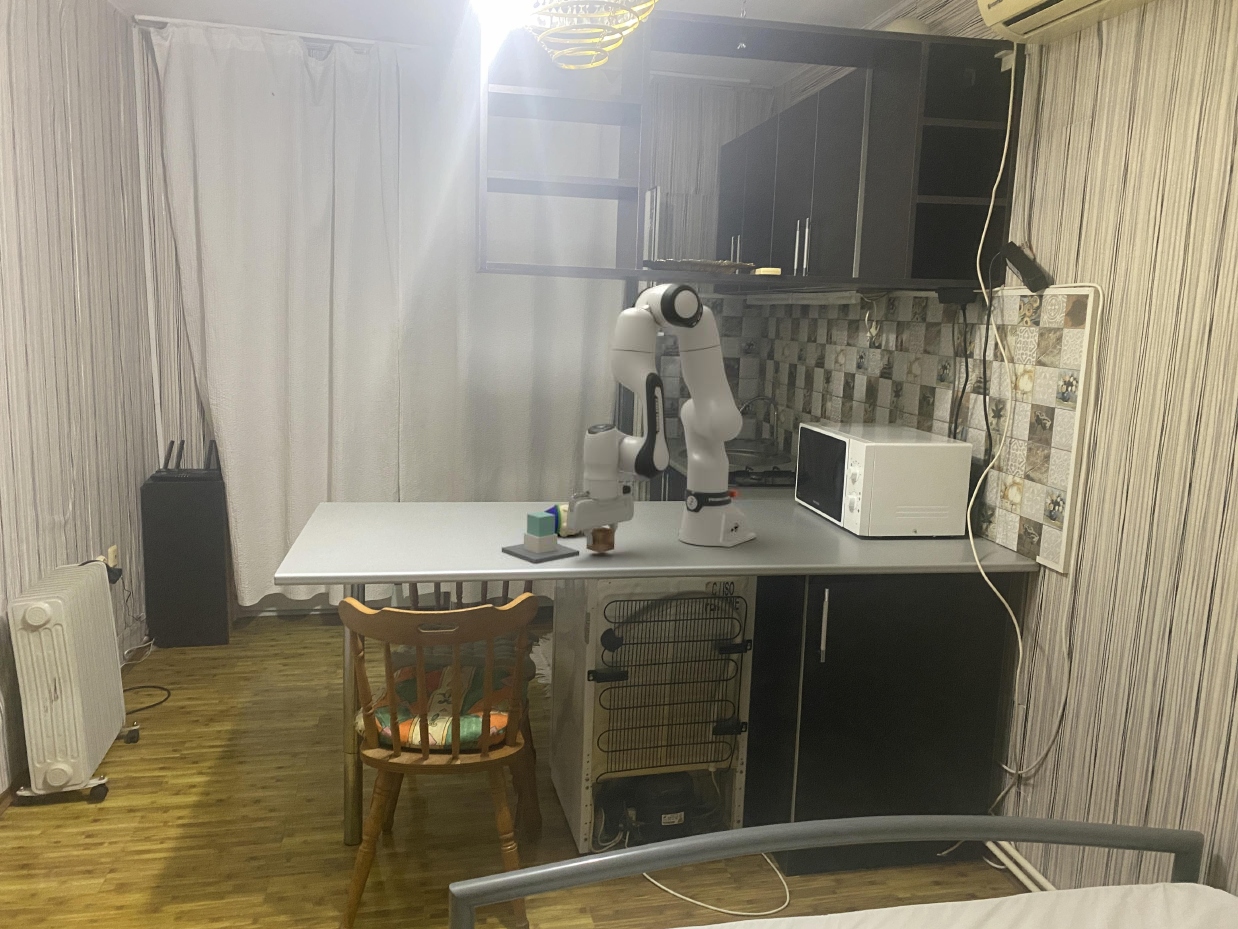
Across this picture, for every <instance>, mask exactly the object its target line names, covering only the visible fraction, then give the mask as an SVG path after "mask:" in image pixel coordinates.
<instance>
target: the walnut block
mask: <svg viewBox="0 0 1238 929" xmlns="http://www.w3.org/2000/svg"><path fill="white" fill-rule="evenodd" d="M591 535H592V537H593V538H595V545H591V546H590V545H587V544H586V550H590V551H593V552H596V553H605V552H609V551H614V550H615V543H616V542H615V541H616V540H615V538H616V537H615V535H616V532H615V530H612V529H609V528H608V527H605V526H601V527H597V528H593V532H592V533H591Z"/></svg>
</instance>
